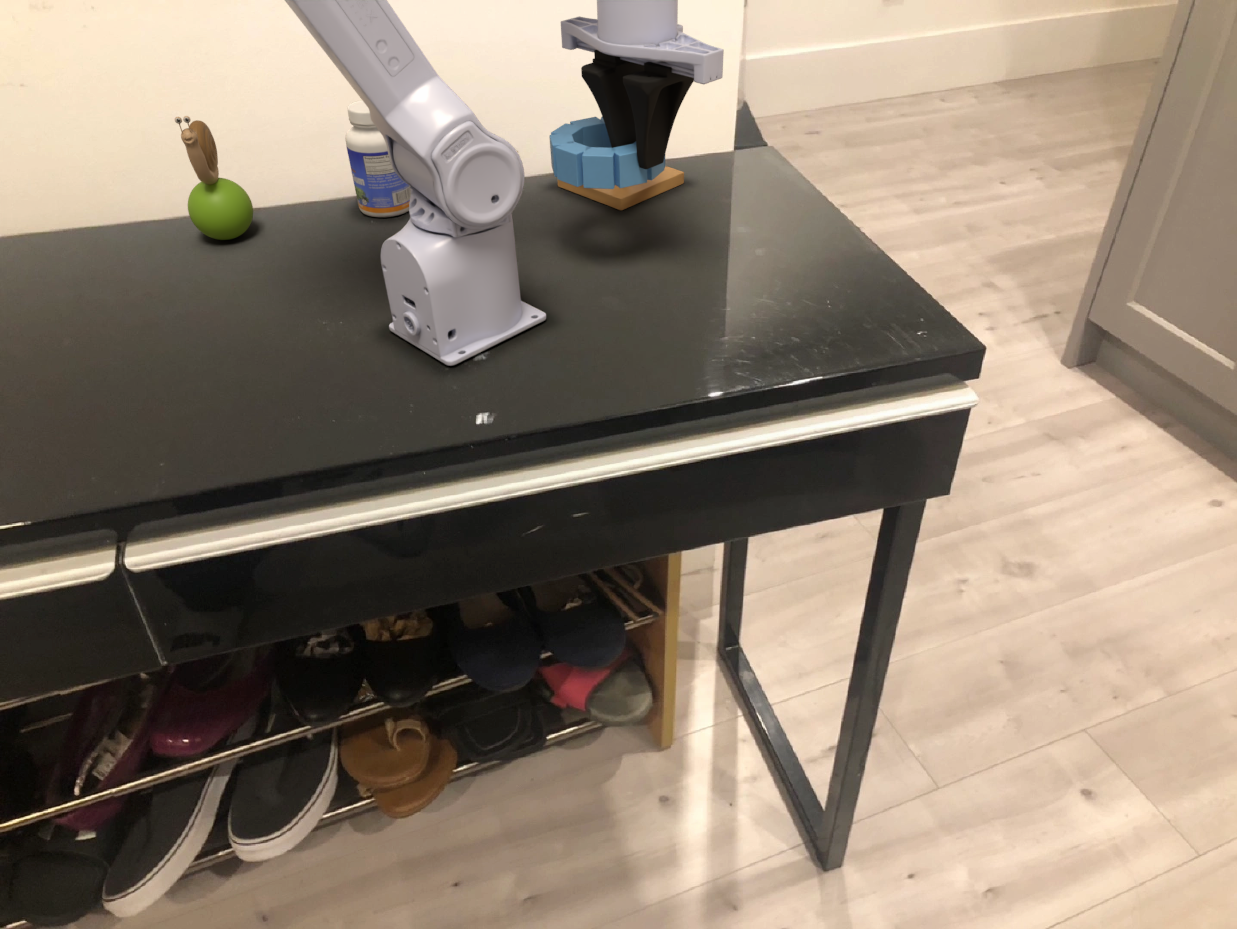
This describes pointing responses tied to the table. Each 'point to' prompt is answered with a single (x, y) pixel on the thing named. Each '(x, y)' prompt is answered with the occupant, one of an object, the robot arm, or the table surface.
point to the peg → (630, 190)
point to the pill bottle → (373, 167)
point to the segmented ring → (595, 157)
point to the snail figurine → (213, 188)
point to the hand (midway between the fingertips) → (639, 160)
